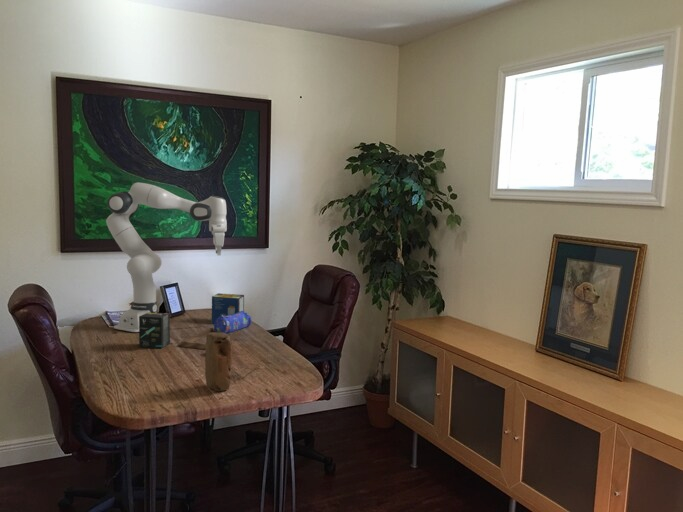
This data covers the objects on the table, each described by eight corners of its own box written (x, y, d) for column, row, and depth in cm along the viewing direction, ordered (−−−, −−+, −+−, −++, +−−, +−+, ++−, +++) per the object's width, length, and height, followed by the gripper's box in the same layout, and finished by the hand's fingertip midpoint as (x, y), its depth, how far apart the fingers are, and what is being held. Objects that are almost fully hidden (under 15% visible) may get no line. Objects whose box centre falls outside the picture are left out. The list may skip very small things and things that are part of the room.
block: (203, 384, 207) (204, 331, 205) (222, 381, 211) (223, 329, 209) (213, 393, 198) (214, 338, 196) (233, 390, 202) (234, 336, 200)
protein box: (217, 320, 314) (218, 293, 312) (244, 322, 311) (244, 294, 310) (210, 324, 303) (211, 296, 302) (238, 326, 301) (238, 297, 300)
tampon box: (170, 343, 261) (170, 313, 259) (162, 349, 252) (162, 317, 250) (147, 342, 262) (147, 311, 260) (138, 347, 253) (138, 315, 251)
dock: (180, 346, 257) (180, 341, 256) (211, 332, 285) (211, 327, 284) (213, 350, 253) (213, 345, 252) (240, 335, 281) (240, 330, 280)
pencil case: (224, 336, 279) (224, 317, 278) (211, 333, 283) (212, 315, 282) (252, 328, 298) (252, 310, 297) (240, 325, 302) (240, 308, 301)
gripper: (210, 226, 295) (210, 252, 296) (213, 228, 275) (213, 256, 277) (222, 226, 297) (222, 252, 298) (225, 228, 277) (226, 256, 278)
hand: (218, 254), depth 287 cm, fingers open, 8 cm apart
